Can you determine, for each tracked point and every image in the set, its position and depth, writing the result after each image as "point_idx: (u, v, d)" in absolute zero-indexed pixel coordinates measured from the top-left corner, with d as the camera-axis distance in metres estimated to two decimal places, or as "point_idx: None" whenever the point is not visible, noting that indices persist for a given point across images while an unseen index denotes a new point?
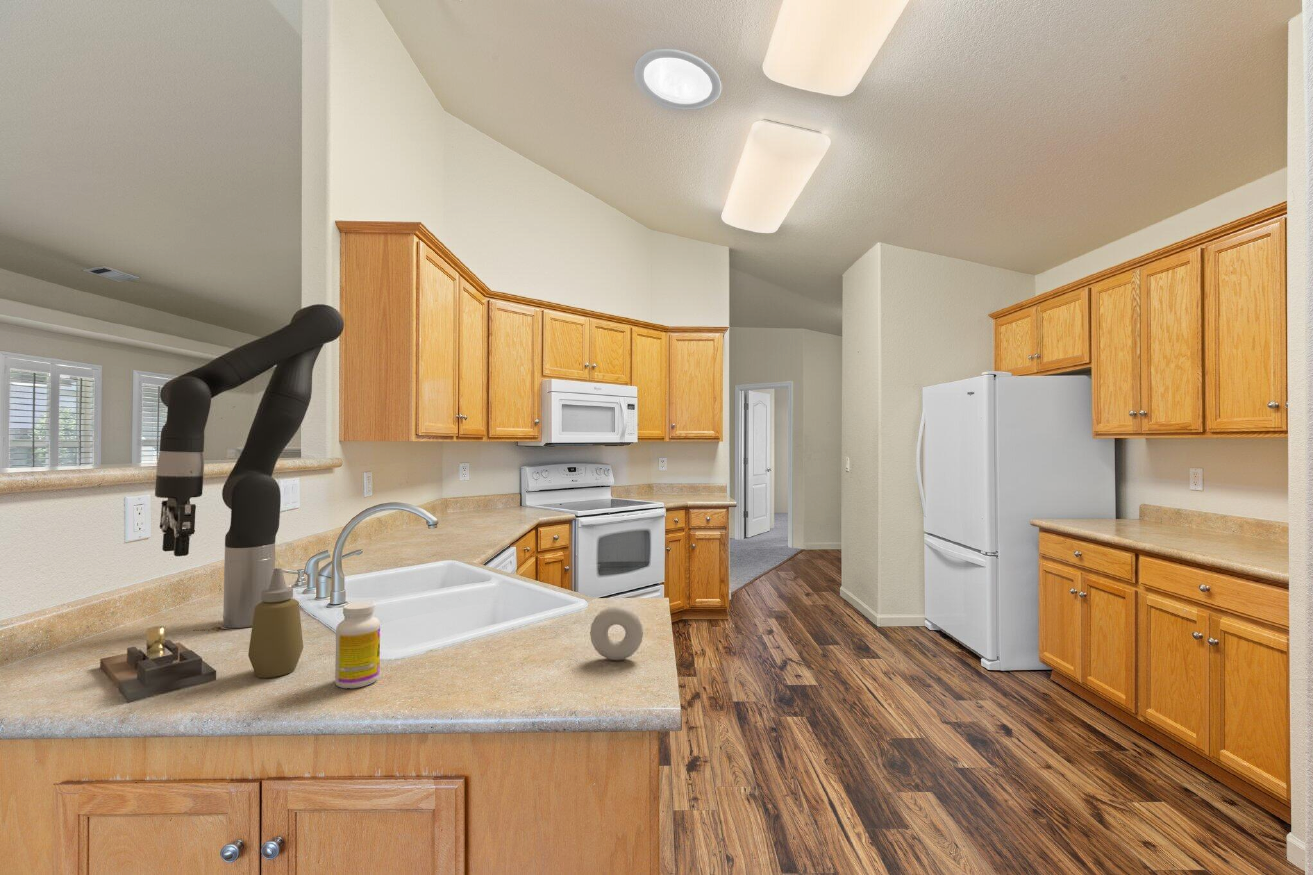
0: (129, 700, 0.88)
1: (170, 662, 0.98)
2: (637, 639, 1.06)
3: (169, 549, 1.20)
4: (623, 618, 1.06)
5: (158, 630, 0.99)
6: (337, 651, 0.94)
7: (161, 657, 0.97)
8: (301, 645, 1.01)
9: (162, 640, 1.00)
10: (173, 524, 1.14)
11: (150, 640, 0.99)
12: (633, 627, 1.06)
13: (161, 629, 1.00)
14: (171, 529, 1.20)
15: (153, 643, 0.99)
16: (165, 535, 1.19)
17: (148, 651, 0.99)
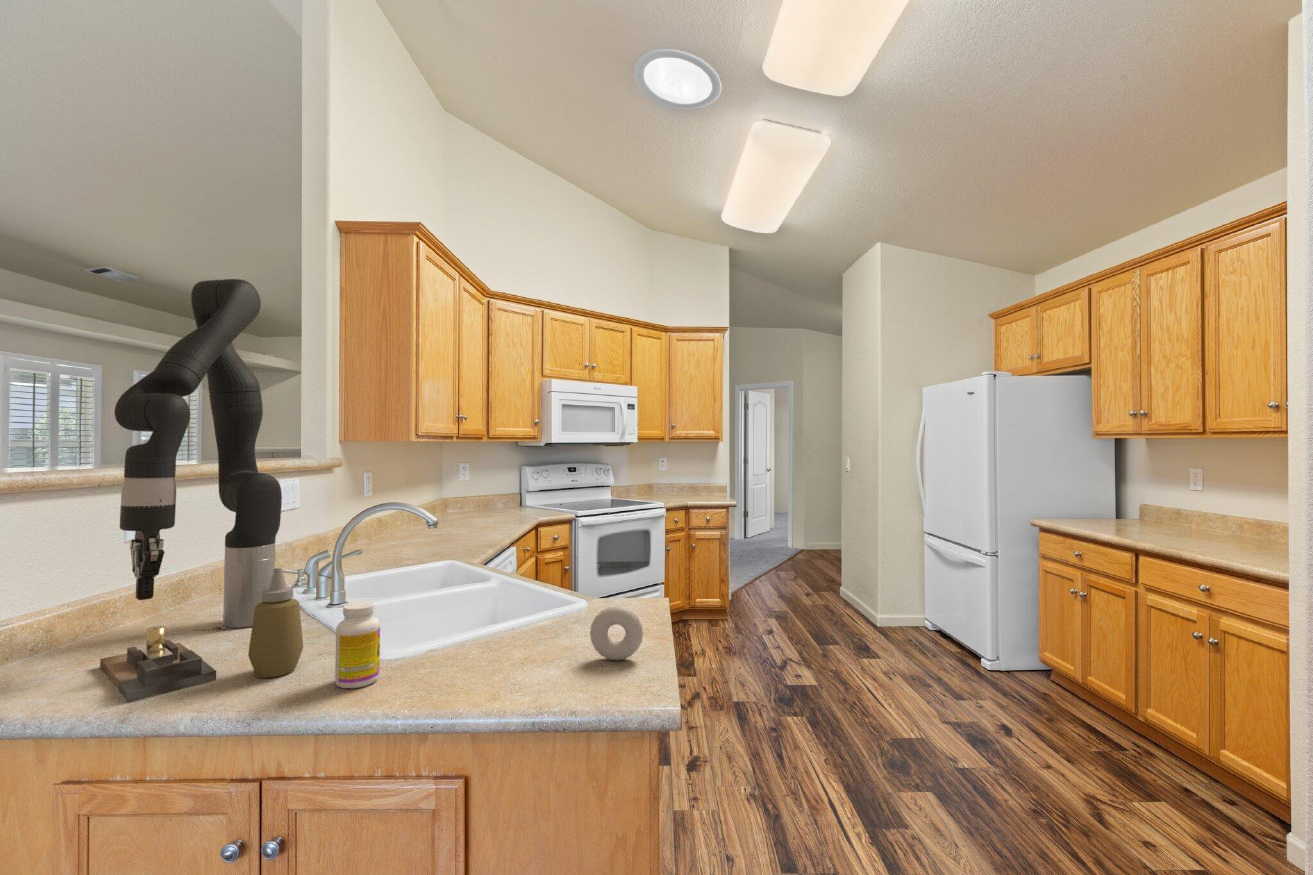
0: (129, 700, 0.88)
1: (170, 662, 0.98)
2: (637, 639, 1.06)
3: None
4: (623, 618, 1.06)
5: (158, 630, 0.99)
6: (337, 651, 0.94)
7: (161, 657, 0.97)
8: (301, 645, 1.01)
9: (162, 640, 1.00)
10: (137, 565, 1.02)
11: (150, 640, 0.99)
12: (633, 627, 1.06)
13: (161, 629, 1.00)
14: None
15: (153, 643, 0.99)
16: None
17: (148, 651, 0.99)
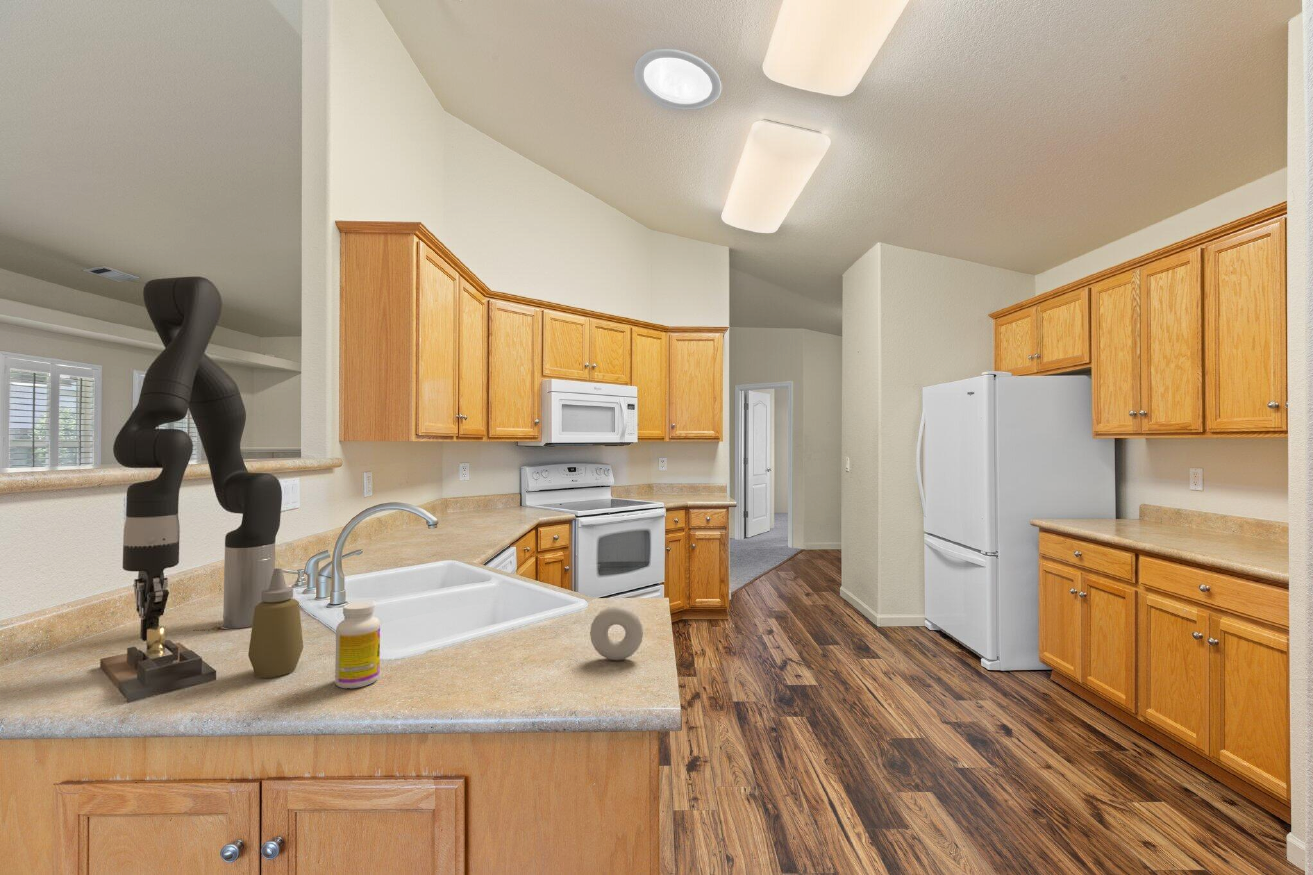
0: (129, 700, 0.88)
1: (170, 662, 0.98)
2: (637, 639, 1.06)
3: None
4: (623, 618, 1.06)
5: (158, 630, 0.99)
6: (337, 651, 0.94)
7: (161, 657, 0.97)
8: (301, 645, 1.01)
9: (162, 640, 1.00)
10: (141, 606, 1.00)
11: (150, 640, 0.99)
12: (633, 627, 1.06)
13: (161, 629, 1.00)
14: None
15: (153, 643, 0.99)
16: None
17: (148, 651, 0.99)
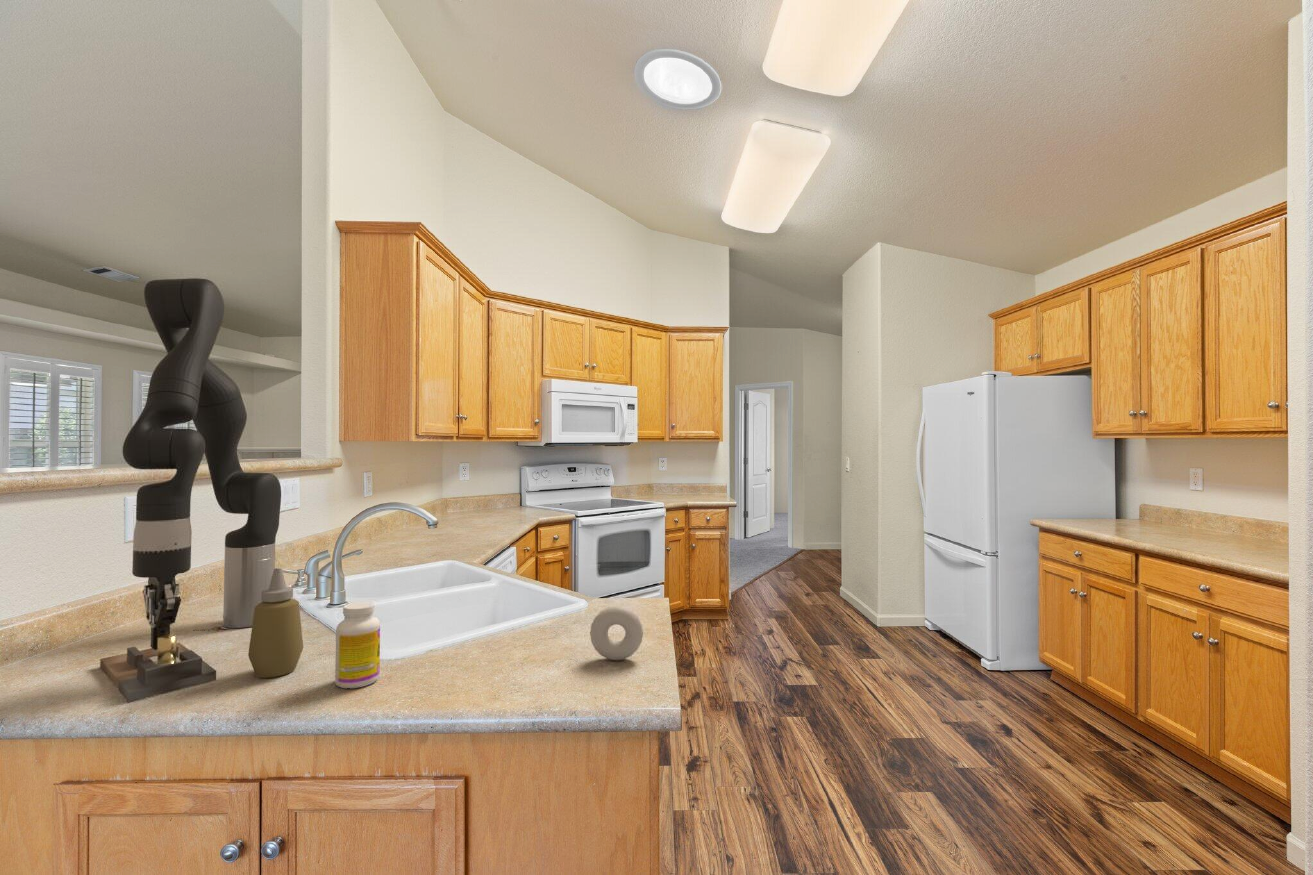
0: (129, 700, 0.88)
1: None
2: (637, 639, 1.06)
3: None
4: (623, 618, 1.06)
5: (169, 639, 0.95)
6: (337, 651, 0.94)
7: None
8: (301, 645, 1.01)
9: (173, 649, 0.95)
10: (152, 613, 0.95)
11: (161, 649, 0.94)
12: (633, 627, 1.06)
13: (172, 638, 0.95)
14: None
15: (164, 652, 0.94)
16: None
17: (159, 660, 0.94)
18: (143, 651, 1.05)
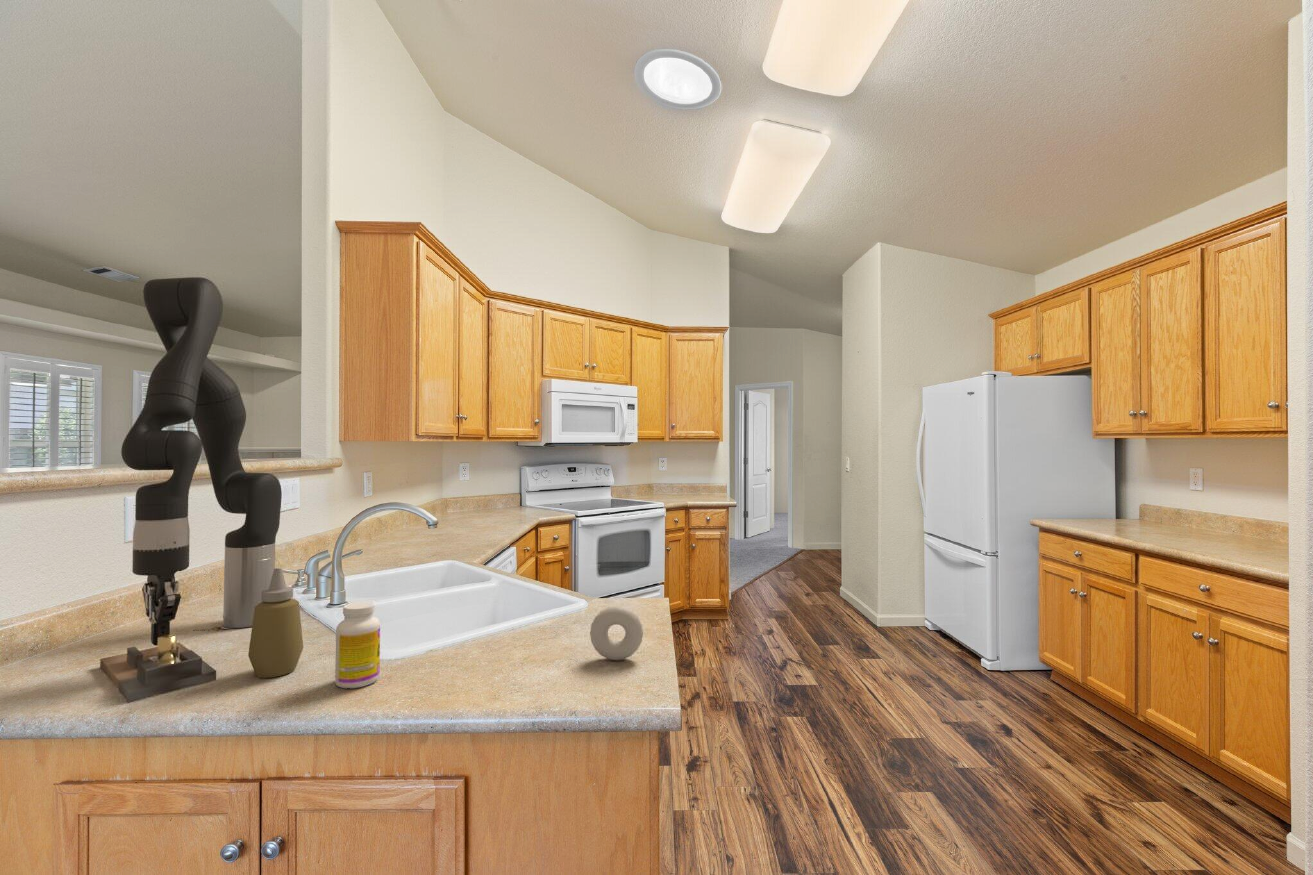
0: (129, 700, 0.88)
1: None
2: (637, 639, 1.06)
3: None
4: (623, 618, 1.06)
5: (169, 639, 0.95)
6: (337, 651, 0.94)
7: None
8: (301, 645, 1.01)
9: (173, 649, 0.95)
10: (152, 610, 0.98)
11: (161, 649, 0.94)
12: (633, 627, 1.06)
13: (172, 638, 0.95)
14: None
15: (164, 652, 0.94)
16: None
17: (159, 660, 0.94)
18: (143, 651, 1.05)
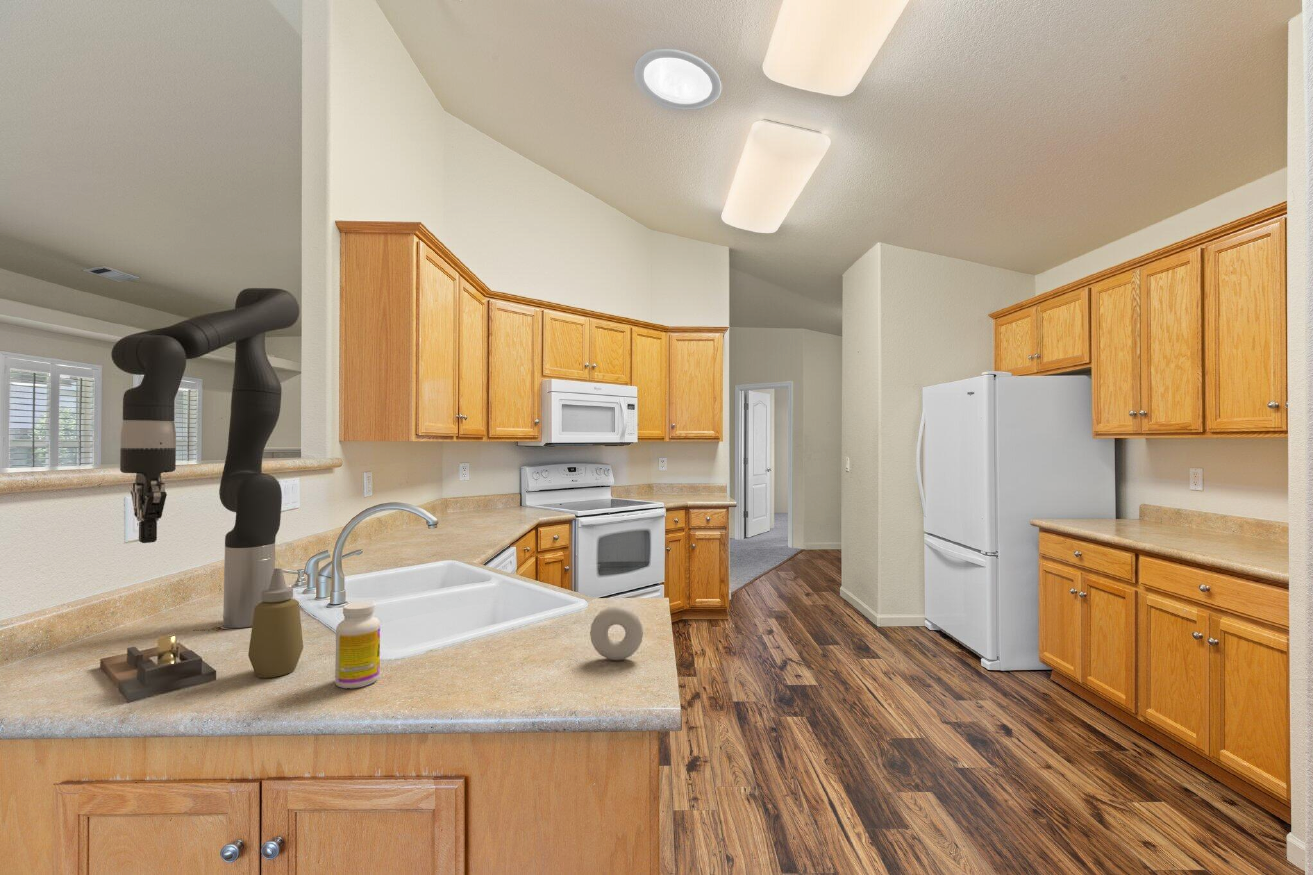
0: (129, 700, 0.88)
1: None
2: (637, 639, 1.06)
3: None
4: (623, 618, 1.06)
5: (169, 639, 0.95)
6: (337, 651, 0.94)
7: None
8: (301, 645, 1.01)
9: (173, 649, 0.95)
10: (139, 508, 1.02)
11: (161, 649, 0.94)
12: (633, 627, 1.06)
13: (172, 638, 0.95)
14: None
15: (164, 652, 0.94)
16: None
17: (159, 660, 0.94)
18: (143, 651, 1.05)
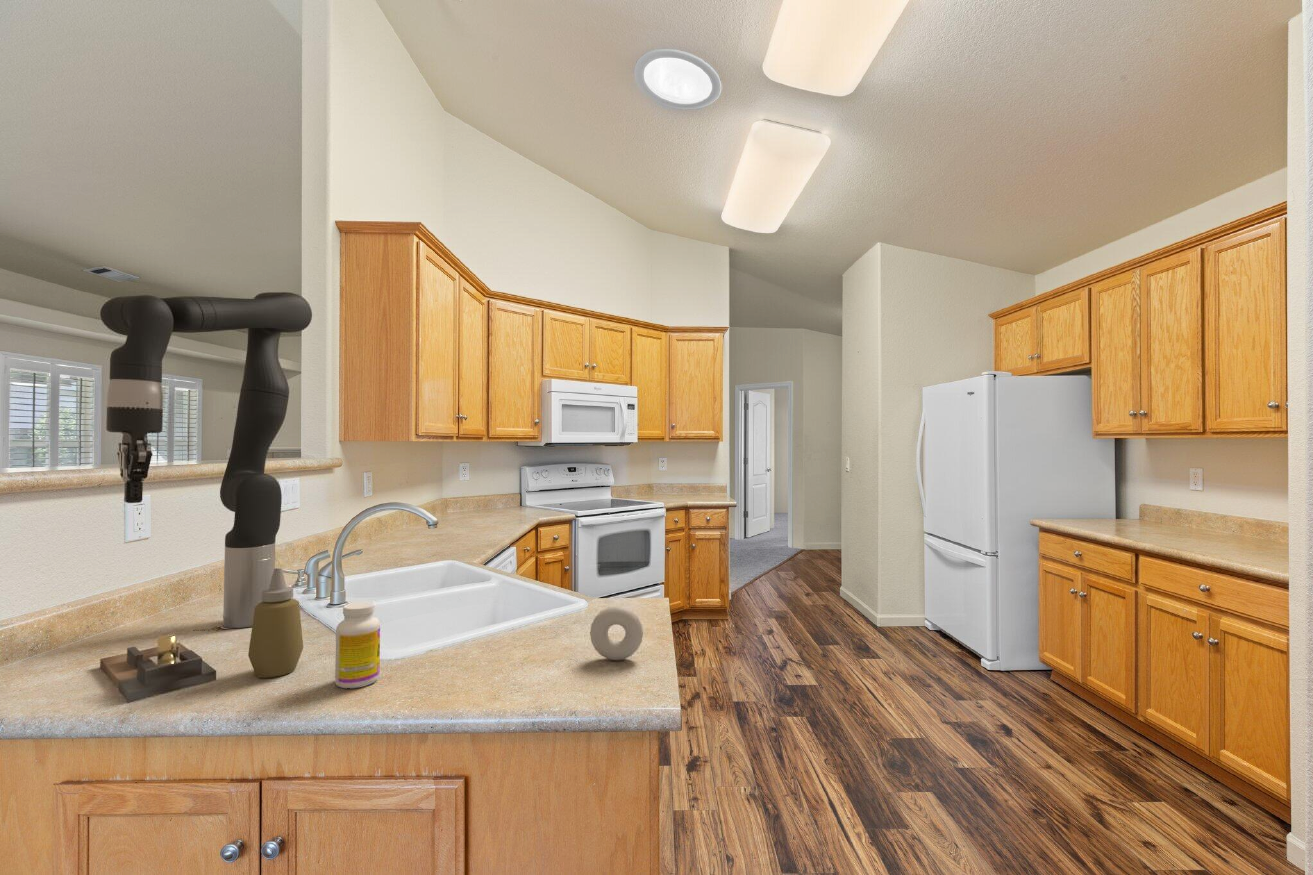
0: (129, 700, 0.88)
1: None
2: (637, 639, 1.06)
3: None
4: (623, 618, 1.06)
5: (169, 639, 0.95)
6: (337, 651, 0.94)
7: None
8: (301, 645, 1.01)
9: (173, 649, 0.95)
10: (125, 467, 1.01)
11: (161, 649, 0.94)
12: (633, 627, 1.06)
13: (172, 638, 0.95)
14: None
15: (164, 652, 0.94)
16: None
17: (159, 660, 0.94)
18: (143, 651, 1.05)
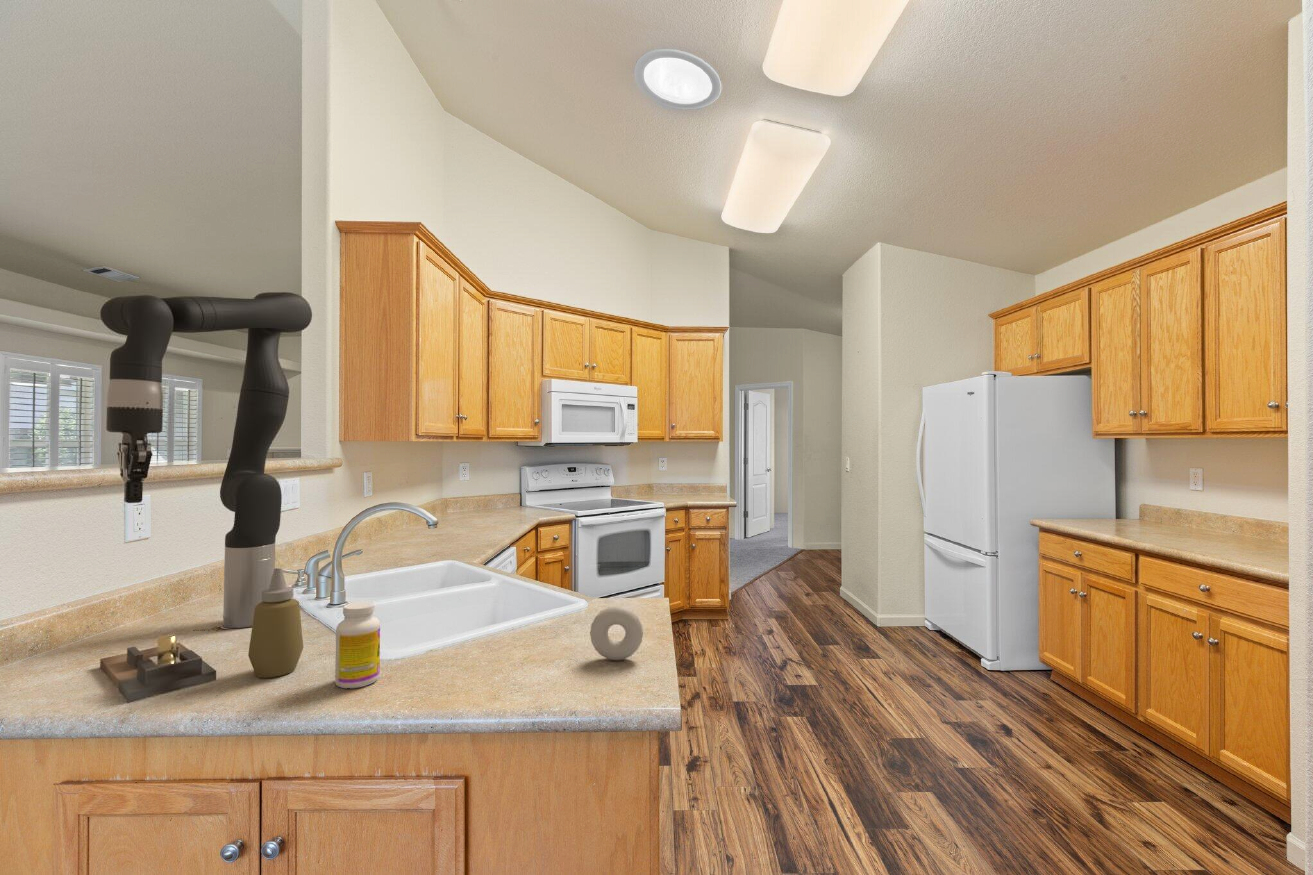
0: (129, 700, 0.88)
1: None
2: (637, 639, 1.06)
3: None
4: (623, 618, 1.06)
5: (169, 639, 0.95)
6: (337, 651, 0.94)
7: None
8: (301, 645, 1.01)
9: (173, 649, 0.95)
10: (125, 467, 1.01)
11: (161, 649, 0.94)
12: (633, 627, 1.06)
13: (172, 638, 0.95)
14: None
15: (164, 652, 0.94)
16: None
17: (159, 660, 0.94)
18: (143, 651, 1.05)
